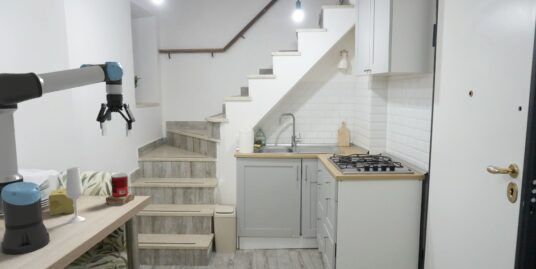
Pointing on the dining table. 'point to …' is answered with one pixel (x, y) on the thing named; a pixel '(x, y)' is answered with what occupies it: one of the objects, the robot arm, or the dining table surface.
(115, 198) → the plinth
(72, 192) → the champagne flute
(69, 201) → the cheese
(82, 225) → the dining table surface
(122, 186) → the canned food
